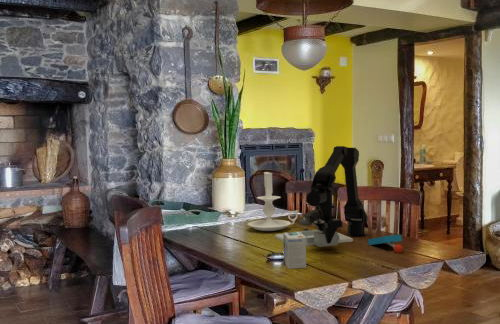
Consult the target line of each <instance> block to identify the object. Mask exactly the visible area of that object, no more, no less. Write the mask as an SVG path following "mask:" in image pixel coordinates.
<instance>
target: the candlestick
mask: <svg viewBox="0 0 500 324" xmlns="http://www.w3.org/2000/svg"><path fill="white" fill-rule="evenodd" d="M263 180H264V181H263V183H264V191H265V195H262V196H260V195H259V196H257V197H256V199H258V200H261V201H264V205H263V208H262V212H263V215H265V216H266V219H261V220H259V219H257V220H253V221H250V222H248V223H247V225H248V226H249V227H251V228H252V229H255V230H256V231H257V230H258V231H261V232H275V231H281V230H283V229H285V228H287V227H288V226H293V225H294V224H295V221H296V220H297V219H298V217H299V215H298V212H299V210H297V209H296V210H291V211H289V213H288V215H287V216H288V219H289V220H290V221H291V222H290V221H289V220H284V219H273V218H272V216H273V215H274V214H275V211H276V208H275V205H274V204H273V202H274V201H275V200H278V199H281V196H278V195H273V193H274V192H273V172H270V171H264V172H263ZM292 213H294V214H295V217H294V218H291V214H292Z"/></svg>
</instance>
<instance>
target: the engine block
mask: <svg viewBox="0 0 500 324" xmlns="http://www.w3.org/2000/svg"><path fill="white" fill-rule="evenodd" d="M317 230H318V229H317ZM338 233H339V232H338V231H336V232H335V234H334V236H333V238H332V240H331V243H329V244H328V243H327V238H326V231H325V230H324V229H320V230H318V232H314V245H313V246H315V247H316V246H317V247H319V248H322V247H333V246H338V245H339V243H338Z"/></svg>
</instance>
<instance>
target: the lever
mask: <svg viewBox="0 0 500 324" xmlns="http://www.w3.org/2000/svg"><path fill="white" fill-rule="evenodd" d="M402 241H403V238H402V234H396V235H395V234H393V235H384V236H379V237H375V238H373V237H372V238H369V239H367V243H368V245H369V246H373V245H374V246H375V245H384V244H388V245H389V246H391V247H392V249H393V251H394V252H395V253H397V254H401V253H403V250H404V248H403V246H402V245H401V244H399V243H398V244H394V243H397V242H402Z"/></svg>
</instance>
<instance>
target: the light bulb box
mask: <svg viewBox="0 0 500 324" xmlns="http://www.w3.org/2000/svg"><path fill="white" fill-rule="evenodd" d="M282 234H283V241H282V243H283V262H284V264H285V266H286V268H287V269H289V270H291V269H306V268H307V250H306V249H307V248H306V247H307V246H306V237H305V236H304V235H303V234H302V233H301V232H300V231H294V232H293V231H292V232H290V231H289V232H283V233H282Z"/></svg>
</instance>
